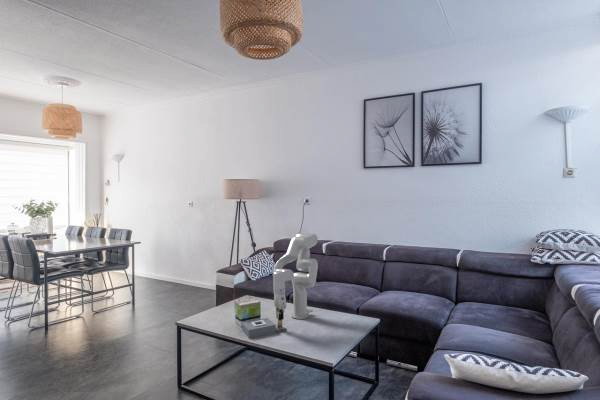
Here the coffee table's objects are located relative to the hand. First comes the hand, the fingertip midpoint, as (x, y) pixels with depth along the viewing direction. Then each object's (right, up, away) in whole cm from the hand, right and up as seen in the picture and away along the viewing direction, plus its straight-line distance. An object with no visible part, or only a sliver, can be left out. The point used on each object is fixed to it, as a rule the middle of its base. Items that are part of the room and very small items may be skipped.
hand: (280, 318), depth 232 cm
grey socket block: (-14, -8, -1) cm, 16 cm away
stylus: (0, -6, 0) cm, 6 cm away
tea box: (-23, -8, +16) cm, 29 cm away
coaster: (0, -8, 0) cm, 8 cm away
